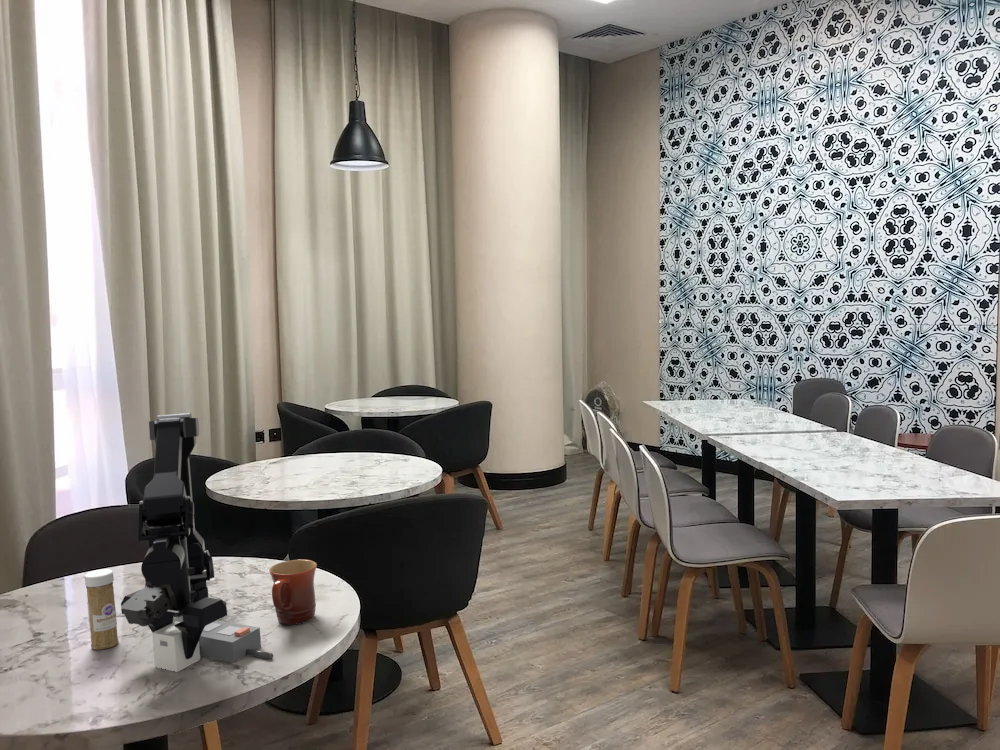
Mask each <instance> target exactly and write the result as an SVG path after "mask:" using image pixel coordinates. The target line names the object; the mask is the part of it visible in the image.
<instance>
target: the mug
mask: <svg viewBox="0 0 1000 750" xmlns="http://www.w3.org/2000/svg"><path fill="white" fill-rule="evenodd" d="M317 566H318V564H317V562H315V561H313V560H311V559H293V560H285V561H282V562H279V563H276V564H274V565H272V566H271V567H269V574H270V576H271V580H272V582H273V584H272V587H271V598H272V604H273V606H274V608H275V610H274V611H275V613H276V617H277V621H278V622H279V623H281V624H282V625H286V626H296V625H297V626H298V625H301V624H302V625H303V624H304V623H305V624H306V623H307V622H310V621H312V619H313V618H314V617H315V615H316V608H317V607H316V606H317V603H316V592H315V591H316V590H315V575H316V570H317Z"/></svg>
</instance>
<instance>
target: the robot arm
mask: <svg viewBox="0 0 1000 750" xmlns="http://www.w3.org/2000/svg"><path fill="white" fill-rule="evenodd" d="M148 428H149V429H148V430H149V441H155V444H154V445H155V451H154V452H155V453H154V466H153V477H152V479H151V481H149V483H148V484H147V485H145V487H144V490H143V497H142V500H140V501H139V505H138V535H137V538H138V542H143V541H148V550H147V552H146V554H145V556H144V558H143V560H142V563H141V569H140V570H141V575H142V576H143V578H144V580H145V581H144V582H145V584H144V587H143V588H142V589H139V590H136V591H135V592H132V593H128V594H127V595H125V596H124V597H123V599H122V600H121V602H120V608H121V609H120V610H121V614H122V615H124V617H125V619H126V620H127V623H128V624H130V625H133V624H134V625H138V626H140V627H147V626H148V628H149V629H150V632H151V633H153V632H155V631H157V630H159V629H161V628H163V627H166V626H168V625H170V624H172V623H173V620H174V617H175V616H179V617H180V616H182V615H183V621H182V622H180V623H178V624H176V625H174V626H175V627H176V628H177V629H179V630H180V631H181V634H182V641H183V648H184V653H185V657H186V659H190V658H191V657H192V656H193V654H194V651H195V649H196V646H197V644H198V641H199V639H200V636H201V634H202V631H203V629H204V627H205V626H206V625H208V624H210V623H212V622H214V621H216V620H221V619H222V618H224V617H227V615H228V610H227V609H228V608H227V602H226V601H225V600H223V599H221V598H214V597H209V588H208V586H207V582H210V581H211V579H213V578H215V567H214V559H213V557H212V556H211V555H210V552H209V550H208V549H206V546H205V539H204V538H203V537H202V536H201V534H200V533H199V531H197V530H196V527H195V516H194V515H195V503H194V501H193V489H192V476H191V465H190V464H191V463H190V456H191V453H192V451H193V449H194V448H195V446H196V444H197V437H199V436H200V424H199V418H198V417H192V413H191V412H183V413H172V414H171V413H169V414H159V415H157V416H156V420H149V421H148ZM146 527H147V528H146Z"/></svg>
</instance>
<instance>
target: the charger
mask: <svg viewBox="0 0 1000 750" xmlns="http://www.w3.org/2000/svg"><path fill="white" fill-rule="evenodd" d="M178 623H180V622H177V621H176V622H174V623H172V624H170V625H168V626H166V627H163V628H161V629H159V630H157V631H155V632H153V633H152V632H151V633H152V644H153V656H154V668H156V667H157V668H156V669H161V668H162V669H161V670H165V669H166V670H165V671H171V672H174V671H175V673H178V672H180V671H182V670H184V669H185V668H187V667H189V666H190V665H193V664H194V663H196V662H198V661H200V660H201V656H200V649H199V646H200V641H198V644H197V646H196V649H195V651H194V654H193V656H192V657H191V658H190V659H186V657H185V653H184V648H183V641H182V634H181V631H180V630H179V629H177V628H176V627H175V626H174V625H176V624H178Z"/></svg>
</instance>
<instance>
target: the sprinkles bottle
mask: <svg viewBox="0 0 1000 750" xmlns="http://www.w3.org/2000/svg"><path fill="white" fill-rule="evenodd" d="M114 580H115V578H114V572H113V570H112V569H109V568H108V569H107V568H105V569H97V570H93V571H90V572H88V573H86V574H85V575H84V585H85V588H86V593H87V595H86V596H87V604H86V605H87V615H88V624H89V632H90V640H91V641H90V643H91V644H90V647H91V649H93V650H97V651H100V650H106V649H109V648H112V647H114V646H117V645H118V644H119V641H120V640H119V637H118V628H117V627H118V626H117V625H118V622H117V621H118V620H117V610H116V609H117V608H116V602H115V593H114Z"/></svg>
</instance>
